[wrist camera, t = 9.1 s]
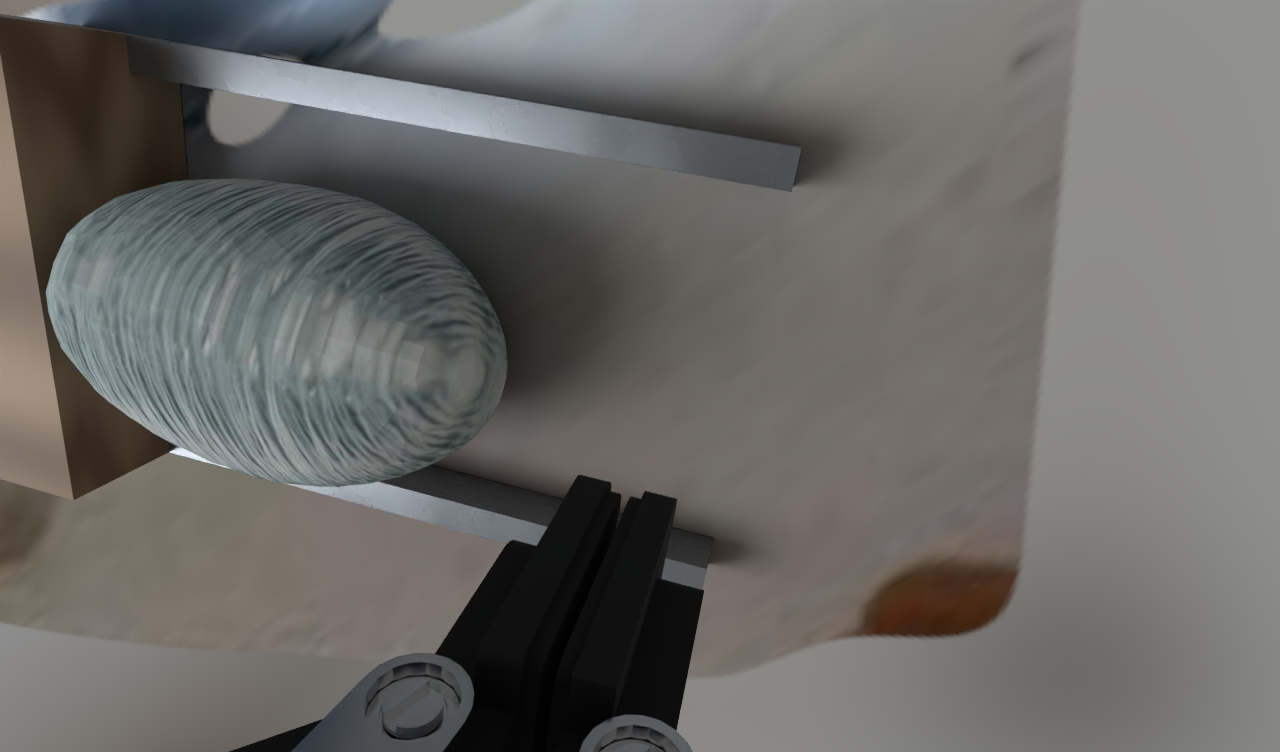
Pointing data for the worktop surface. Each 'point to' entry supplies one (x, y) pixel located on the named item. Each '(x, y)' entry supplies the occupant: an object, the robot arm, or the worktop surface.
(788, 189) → the guide rails
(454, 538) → the worktop surface
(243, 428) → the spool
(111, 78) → the end stop
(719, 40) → the worktop surface
